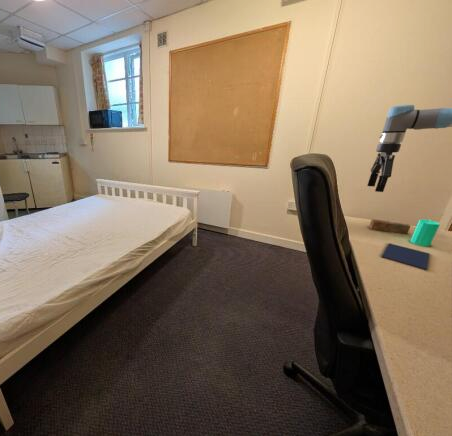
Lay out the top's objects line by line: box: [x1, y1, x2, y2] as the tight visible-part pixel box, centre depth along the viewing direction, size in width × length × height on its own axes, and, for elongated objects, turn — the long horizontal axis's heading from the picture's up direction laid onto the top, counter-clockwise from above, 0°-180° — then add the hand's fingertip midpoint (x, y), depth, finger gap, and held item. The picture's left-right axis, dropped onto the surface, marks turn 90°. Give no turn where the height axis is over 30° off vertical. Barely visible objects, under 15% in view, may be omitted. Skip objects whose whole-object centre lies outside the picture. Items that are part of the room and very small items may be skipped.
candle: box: [410, 218, 441, 247], centre depth 98 cm, size 6×6×12 cm
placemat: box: [381, 243, 430, 271], centre depth 90 cm, size 18×12×1 cm, turn 129°
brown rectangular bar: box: [368, 218, 411, 235], centre depth 113 cm, size 14×4×4 cm, turn 60°
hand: (374, 188), depth 108 cm, fingers open, 13 cm apart
